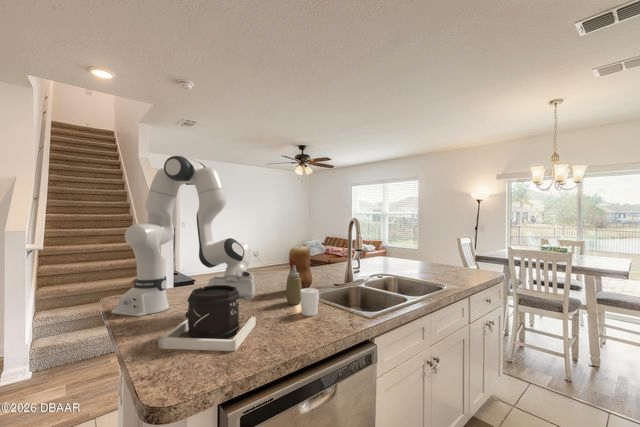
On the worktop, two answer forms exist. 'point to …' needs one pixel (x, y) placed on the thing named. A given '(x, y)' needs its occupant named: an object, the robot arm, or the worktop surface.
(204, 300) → the black short wide cylinder
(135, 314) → the robot arm
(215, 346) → the bay
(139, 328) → the worktop surface
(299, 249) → the butternut squash
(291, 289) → the squeeze bottle
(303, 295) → the white cup
